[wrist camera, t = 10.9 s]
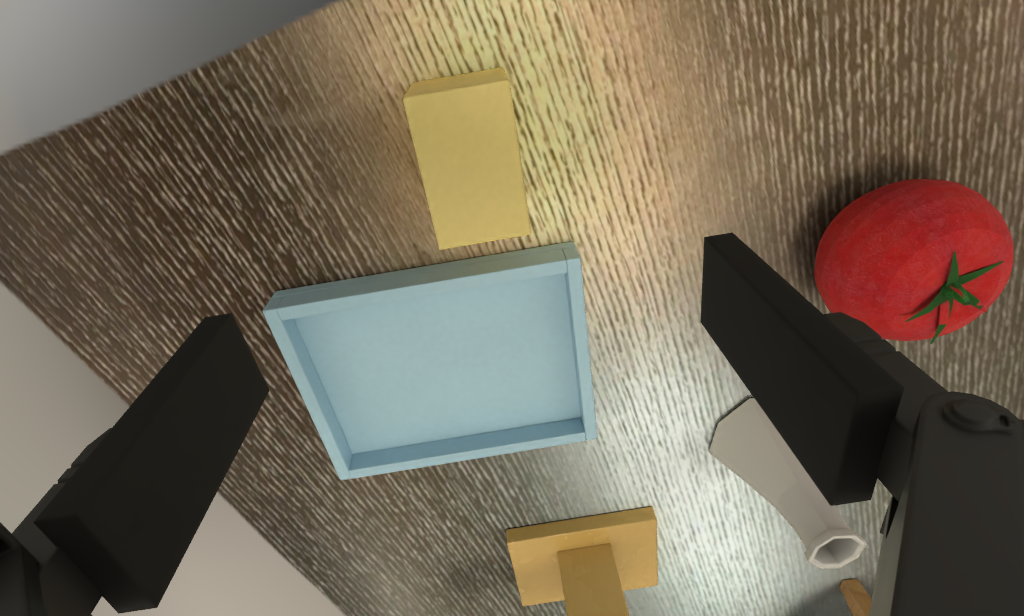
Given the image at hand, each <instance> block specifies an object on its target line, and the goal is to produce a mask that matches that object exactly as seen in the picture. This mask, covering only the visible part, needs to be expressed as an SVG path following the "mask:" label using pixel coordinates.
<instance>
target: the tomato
mask: <svg viewBox="0 0 1024 616" xmlns="http://www.w3.org/2000/svg"><path fill="white" fill-rule="evenodd" d="M1012 265H1013V241H1012V236H1011V234H1010V231H1009V229H1008V227H1007V224H1006V222H1005V221H1004V219H1003V217H1002V215H1001V213H1000V212H999V211H998V210H997V209H996V208H995V207H994V206H993V205H992V204H991V203H990V202H988V201H987V200H986V199H985V198H984V197H983V196H982V195H981V194H980V193H978V192H976V191H974V190H972V189H970V188H968V187H965V186H963V185H961V184H959V183H956V182H950V181H945V180H932V179H909V180H903V181H899V182H895V183H891V184H888V185H886V186H883V187H881V188H878V189H876V190H873V191H871V192H868V193H866V194H864V195H862V196H861V197H859V198H857V199H856V200H854V201H853V202H851V203H850V204H849V205H847V206H846V207H845V208H844V209H842V210H841V212H840V213H839V214H838V215H837V216H836V217H835V218H834V219H833V220H832V221H831V223H830V224H829V226H828V227H827V228H826V230H825V232H824V234H823V236H822V238H821V240H820V242H819V245H818V249H817V252H816V260H815V272H814V275H815V281H816V286H817V288H818V291H819V293H820V295H821V297H822V299H823V301H824V302H825V304H826V306H827V308H828V309H829V310H830V312H831V313H836V312H842V313H844V314H846V315H849V316H851V317H853V318H855V319H857V320H860V321H862V322H864V323H865V324H867V325H868V326H869V327H870V328H872V329H873V330H874V331H875V332H876V333H878V334H879V335H880V336H881V338H882V339H890V340H899V341H914V340H922V339H929V338H933V339H932V342H931V344H932V343H933V342H934V340H935V339H936V338H937V337H938V336H942V335H945V334H948V333H950V332H953V331H955V330H957V329H959V328H961V327H963V326H965V325H967V324H968V323H970V322H971V321H973V320H974V319H976V318H977V317H978V316H979V315H981V314H982V313H983V312H985V313H987V311H986V310H987V309H988V308H989V307H990V305H991V304H992V303H993V302H994V301H995V300H996V299H997V298H998V296H999V295H1000V293H1001V292H1002V291H1003V289H1004V287H1005V285H1006V283H1007V281H1008V279H1009V277H1010V274H1011V270H1012Z"/></svg>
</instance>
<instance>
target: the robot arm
mask: <svg viewBox="0 0 1024 616" xmlns="http://www.w3.org/2000/svg"><path fill="white" fill-rule="evenodd" d="M701 323H702V325H703V326H704V327H705V329H706V330H707V332H708V333H709V335H710V336H711V337H712V339H713V340H714V342H715V343H716V344H717V346H718V347H719V349H720V350H721V352H722V353H723V354H724V356H725V357H726V359H727V360H728V361H729V363H730V364H731V366H732V367H733V369H734V370H735V371H736V373H737V374H738V376H739V377H740V378H741V380H742V381H743V383H744V384H745V386H746V387H747V388H748V390H749V391H750V393H751V394H752V395H753V397H754V398H755V400H756V401H757V403H758V404H759V405H760V407H761V408H762V410H763V411H764V412H765V414H766V415H767V417H768V418H769V420H770V421H771V422H772V424H773V425H774V427H775V428H776V429H777V431H778V432H779V434H780V435H781V437H782V438H783V439H784V441H785V442H786V444H787V445H788V446H789V448H790V449H791V451H792V452H793V454H794V455H795V456H796V458H797V459H798V461H799V462H800V463H801V465H802V466H803V468H804V469H805V471H806V472H807V473H808V475H809V476H810V478H811V479H812V481H813V482H814V483H815V485H816V486H817V488H818V489H819V490H820V492H821V493H822V495H823V496H824V498H825V499H826V500H827V502H828V503H829V505H830V506H834V505H840V504H847V503H854V502H860V501H867V500H871V497H872V494H873V491H874V487H875V484H876V481H877V477H878V479H879V480H880V481H881V482H882V483H883V485H884V486H885V487H886V488H887V489H888V490H889V492H890V493H891V494H892V497H891V500H890V503H889V506H888V509H887V512H886V515H885V518H884V521H883V524H882V527H881V530H880V533H882V534H883V539H882V545H881V550H880V556H879V561H878V567H877V573H876V578H875V584H874V589H873V595H872V601H871V606H870V612H869V616H1024V420H1019V419H1018V418H1017V417H1016V416H1015V415H1013V414H1012V413H1011V412H1010V411H1009V410H1008V409H1006V408H1004V407H1002V406H1001V405H999V404H997V403H995V402H993V401H991V400H988V399H985V398H982V397H979V396H976V395H973V394H967V393H960V392H948V391H946V390H945V389H944V388H943V387H942V386H940V385H939V384H938V383H937V382H936V381H934V380H933V379H932V378H931V377H930V376H928V375H927V374H926V373H925V372H924V371H922V370H921V369H920V368H919V367H917V366H916V365H915V364H914V363H913V362H911V361H910V360H909V359H908V358H907V357H905V356H904V355H903V354H902V353H901V352H899V351H897V352H896V350H895V348H894V347H893V346H892V345H891V344H890V343H888V342H887V341H886V340H885V339H884V340H882V338H881V336H880V335H879V334H878V333H876V332H875V331H874V330H873V329H872V328H870V327H869V326H868V325H867V324H865V323H864V322H862V321H860V320H857V319H855V318H853V317H851V316H849V315H846V314H844V313H842V312H836V313H830V314H824V315H823V314H822V313H821V312H820V311H819V310H818V309H817V308H815V307H814V306H813V305H812V304H811V303H810V302H809V301H808V300H807V299H805V298H804V297H803V296H802V295H801V294H800V293H799V292H798V291H797V290H795V289H794V288H793V287H792V286H791V285H790V284H789V283H788V282H787V281H786V280H784V279H783V278H782V277H781V276H780V275H779V274H778V273H777V272H776V271H774V270H773V269H772V268H771V267H770V266H769V265H768V264H767V263H766V262H764V261H763V260H762V259H761V258H760V257H759V256H758V255H757V254H756V253H754V252H753V251H752V250H751V249H750V248H749V247H748V246H747V245H746V244H744V243H743V242H742V241H741V240H740V239H739V238H738V237H737V236H736V235H734V234H733V233H727V234H721V235H715V236H709V237H704V258H703V281H702V304H701ZM268 392H269V388H268V386H267V384H266V382H265V380H264V378H263V376H262V374H261V372H260V370H259V368H258V366H257V363H256V361H255V359H254V357H253V355H252V353H251V351H250V349H249V347H248V345H247V343H246V341H245V339H244V337H243V335H242V333H241V331H240V329H239V327H238V325H237V323H236V321H235V319H234V316H233V314H232V313H230V314H223V315H217V316H211V317H205V318H204V319H203V320H202V321H201V323H200V324H199V325H198V326H197V327H196V329H195V330H194V331H193V332H192V333H191V335H190V336H189V337H188V338H187V339H186V340H185V342H184V343H183V344H182V345H181V346H180V348H179V349H178V350H177V351H176V352H175V354H174V355H173V356H172V357H171V358H170V360H169V361H168V362H167V363H166V364H165V366H164V367H163V368H162V369H161V370H160V372H159V373H158V374H157V375H156V376H155V377H154V379H153V380H152V381H151V382H150V383H149V385H148V386H147V387H146V388H145V389H144V391H143V392H142V393H141V394H140V395H139V397H138V398H137V399H136V400H135V401H134V403H133V404H132V405H131V406H130V407H129V409H128V410H127V411H126V412H125V413H124V415H123V416H122V417H121V418H120V419H119V420H118V422H117V423H116V424H115V425H114V426H113V428H110V429H109V430H107V431H106V432H105V433H103V434H102V435H101V436H100V437H98V438H97V439H96V440H94V441H93V442H92V443H91V444H89V445H88V446H87V447H86V448H85V449H84V450H83V451H82V453H81V454H80V455H79V456H78V457H77V458H76V460H75V461H74V462H73V463H72V465H71V468H69V469H67V470H66V471H65V472H64V474H63V475H62V476H61V477H60V478H59V479H58V484H55V485H53V486H52V488H51V489H50V490H49V491H48V492H47V493H46V494H45V496H44V497H43V498H42V499H41V500H40V502H39V503H38V504H37V505H36V506H35V507H34V509H33V510H32V511H31V512H30V513H29V514H28V516H27V517H26V518H25V519H24V520H23V521H22V522H21V524H20V525H19V526H18V527H17V528H16V529H15V531H14V532H13V533H12V534H11V533H10V532H9V531H8V530H7V529H6V528H5V527H4V526H3V525H2V524H1V523H0V616H92V615H91V613H92V611H93V610H94V608H95V606H96V605H97V603H98V602H99V600H100V598H101V597H102V596H103V597H104V598H105V599H106V600H107V602H108V603H109V604H110V605H111V606H112V607H113V608H114V609H115V610H116V611H117V612H118V613H125V612H131V611H137V610H145V609H151V608H157V607H158V605H159V603H160V601H161V599H162V597H163V595H164V593H165V591H166V589H167V587H168V585H169V583H170V581H171V580H172V578H173V576H174V574H175V572H176V570H177V568H178V566H179V564H180V562H181V560H182V558H183V556H184V554H185V552H186V551H187V549H188V547H189V544H190V543H191V541H192V539H193V537H194V535H195V533H196V531H197V529H198V527H199V525H200V523H201V522H202V520H203V518H204V516H205V514H206V512H207V510H208V508H209V506H210V504H211V502H212V500H213V498H214V496H215V495H216V493H217V491H218V489H219V487H220V485H221V483H222V481H223V479H224V477H225V475H226V473H227V471H228V469H229V467H230V466H231V464H232V462H233V460H234V458H235V456H236V454H237V452H238V450H239V448H240V446H241V444H242V442H243V440H244V438H245V437H246V435H247V433H248V431H249V429H250V427H251V425H252V423H253V421H254V419H255V417H256V415H257V413H258V411H259V409H260V408H261V406H262V404H263V402H264V400H265V398H266V396H267V394H268Z"/></svg>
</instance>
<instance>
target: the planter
mask: <svg viewBox="0 0 1024 616" xmlns="http://www.w3.org/2000/svg"><path fill="white" fill-rule="evenodd" d="M839 589H840V590H841V592H842V594H843V596H844V597H845V599H846V602H847V604H848V606H849V608H850V611H851V613H852V616H869V612H870V606H871V601H872V599H871V598H870V596H869V595H868V593H867V592H866V590H865V589H864V587H863V586H862V584H861V583H860V581H859V580H858V579H850V580H842V583H841V585H840V587H839Z"/></svg>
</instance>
